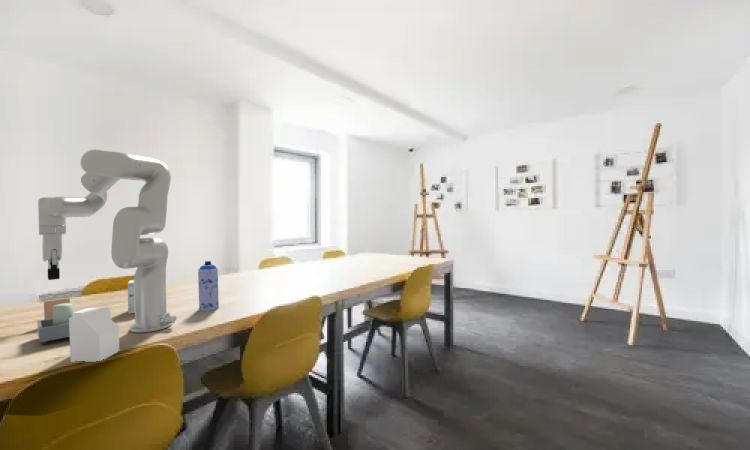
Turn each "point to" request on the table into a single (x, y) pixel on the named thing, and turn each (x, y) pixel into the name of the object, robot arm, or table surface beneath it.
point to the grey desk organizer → (46, 326)
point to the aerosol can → (208, 287)
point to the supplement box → (131, 297)
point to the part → (62, 313)
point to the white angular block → (92, 335)
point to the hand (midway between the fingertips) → (53, 279)
